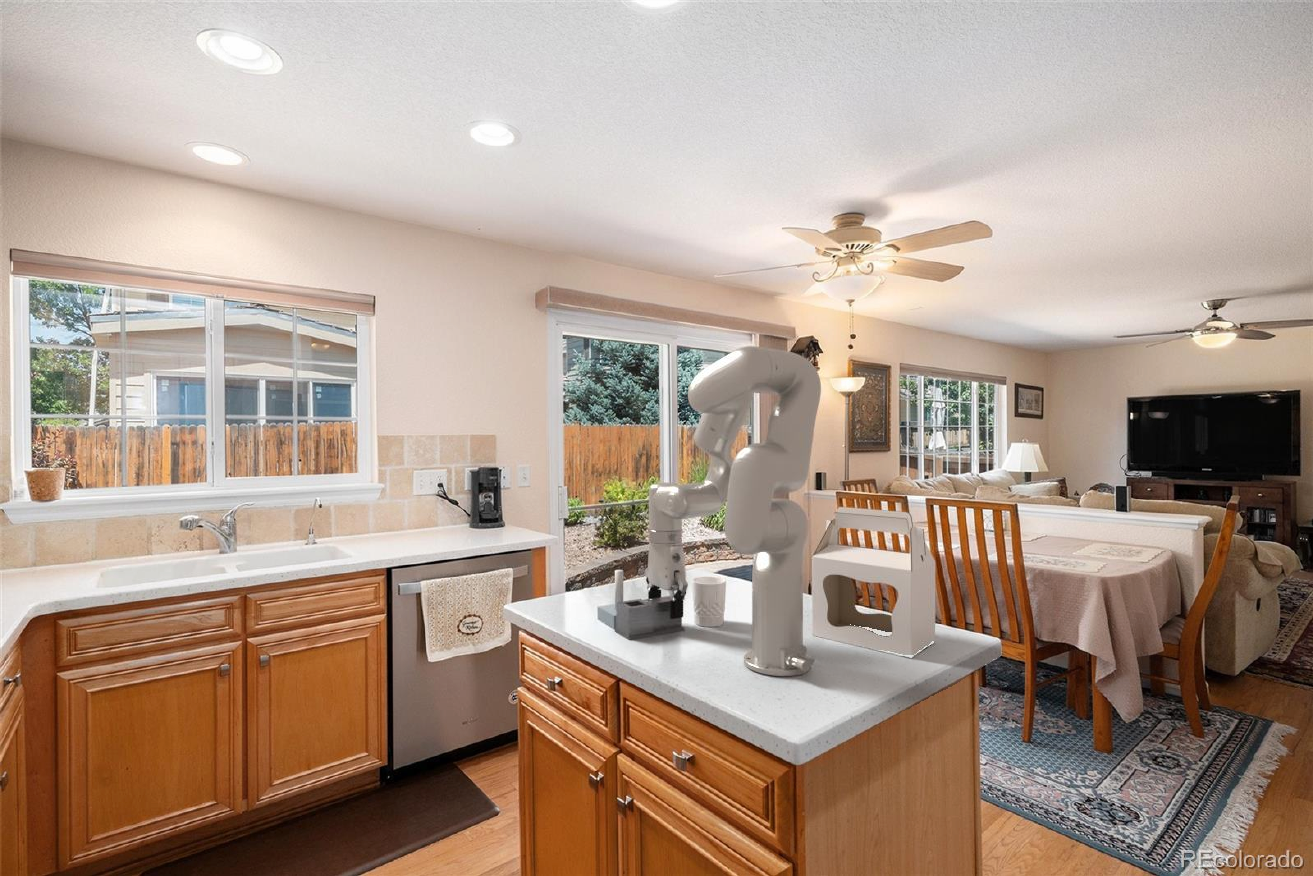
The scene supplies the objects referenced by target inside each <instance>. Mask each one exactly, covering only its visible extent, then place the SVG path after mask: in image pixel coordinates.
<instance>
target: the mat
mask: <svg viewBox="0 0 1313 876" xmlns="http://www.w3.org/2000/svg"><path fill="white" fill-rule="evenodd" d="M685 630H686V629H685V627H684V626H683V625H682V626H678V627H672V628H666V629H660V630H655V631H653V632H652V633H647V634H641V635H635V636H627V635H625V634H624V633H622V632H620V631H619V630H617V629H616V628H615V629H614V632H615V633H617V634H619V635H620V636H621V637H624V638H625V639H627V640H629V641H630V640H631V641H632V640H638V639H642V638H647V637H648V638H649V637H653V636H654V637H655V636H660V635H666V634H671V633H677V632H682V631H683V632H684V631H685Z"/></svg>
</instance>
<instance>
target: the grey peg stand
mask: <svg viewBox="0 0 1313 876" xmlns="http://www.w3.org/2000/svg"><path fill="white" fill-rule="evenodd" d="M622 601H624V570H623V569H615V570H614V603H613V604H605V605H598V606H597V620H599V622H601V623H603V624H604V625H606V626H609V628H611V629H613V630H615V628H616V602H622Z"/></svg>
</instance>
